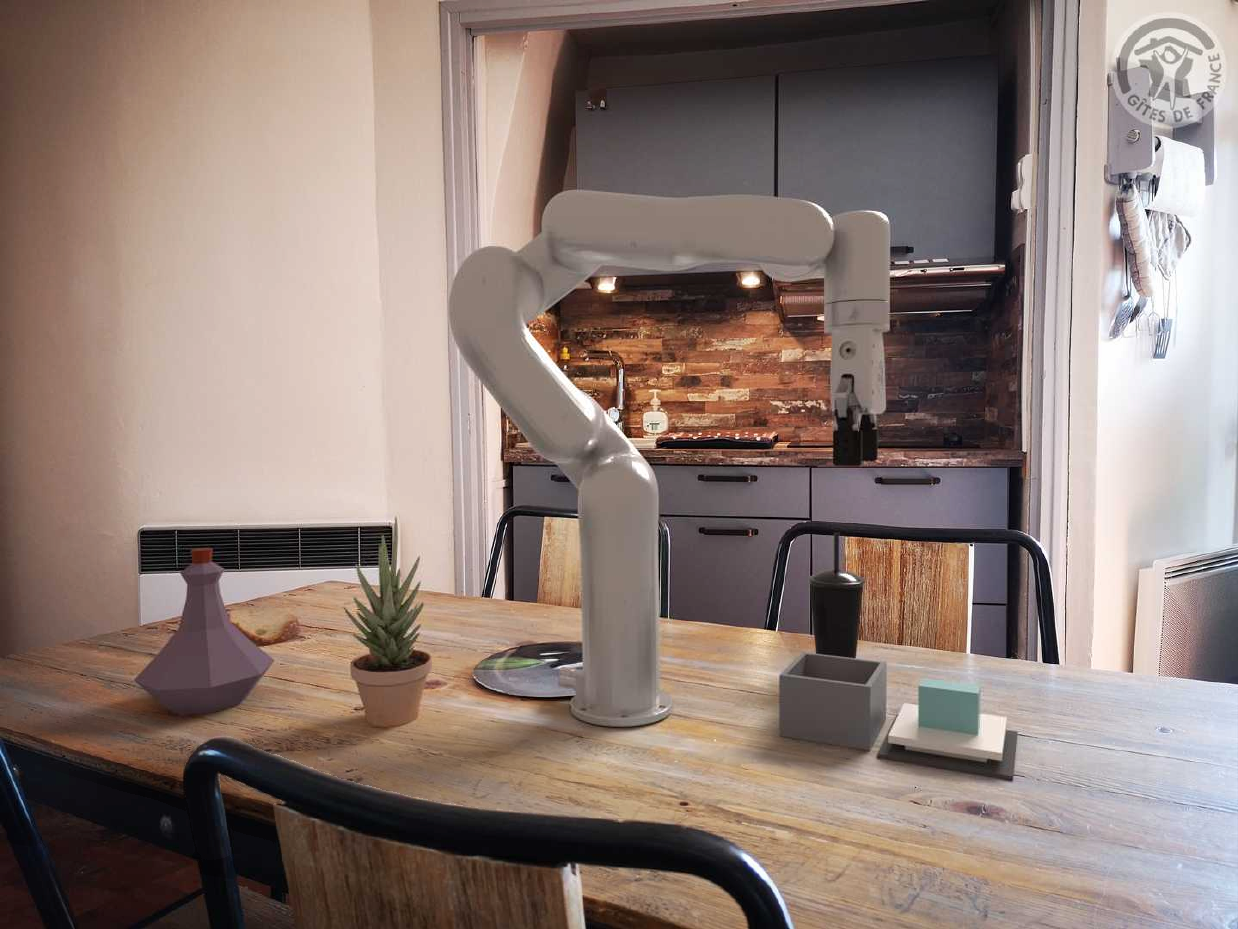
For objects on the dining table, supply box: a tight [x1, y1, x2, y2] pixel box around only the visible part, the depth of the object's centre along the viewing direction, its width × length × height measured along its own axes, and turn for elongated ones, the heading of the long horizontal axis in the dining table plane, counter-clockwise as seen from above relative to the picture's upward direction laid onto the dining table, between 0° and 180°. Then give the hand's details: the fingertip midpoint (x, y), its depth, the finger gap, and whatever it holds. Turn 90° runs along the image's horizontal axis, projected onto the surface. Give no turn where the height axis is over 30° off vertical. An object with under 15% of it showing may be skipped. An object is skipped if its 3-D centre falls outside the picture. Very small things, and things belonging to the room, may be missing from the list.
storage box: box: [778, 651, 887, 752], centre depth 98 cm, size 10×10×7 cm
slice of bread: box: [227, 609, 301, 647], centre depth 146 cm, size 18×18×4 cm
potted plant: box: [342, 516, 433, 728], centre depth 102 cm, size 10×10×25 cm
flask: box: [133, 547, 275, 716], centre depth 109 cm, size 16×16×20 cm
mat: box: [876, 713, 1018, 781], centre depth 92 cm, size 13×13×1 cm
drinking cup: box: [807, 532, 866, 659], centre depth 116 cm, size 8×8×20 cm
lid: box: [888, 677, 1008, 762], centre depth 92 cm, size 11×11×6 cm
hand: (856, 463), depth 102 cm, fingers open, 9 cm apart
